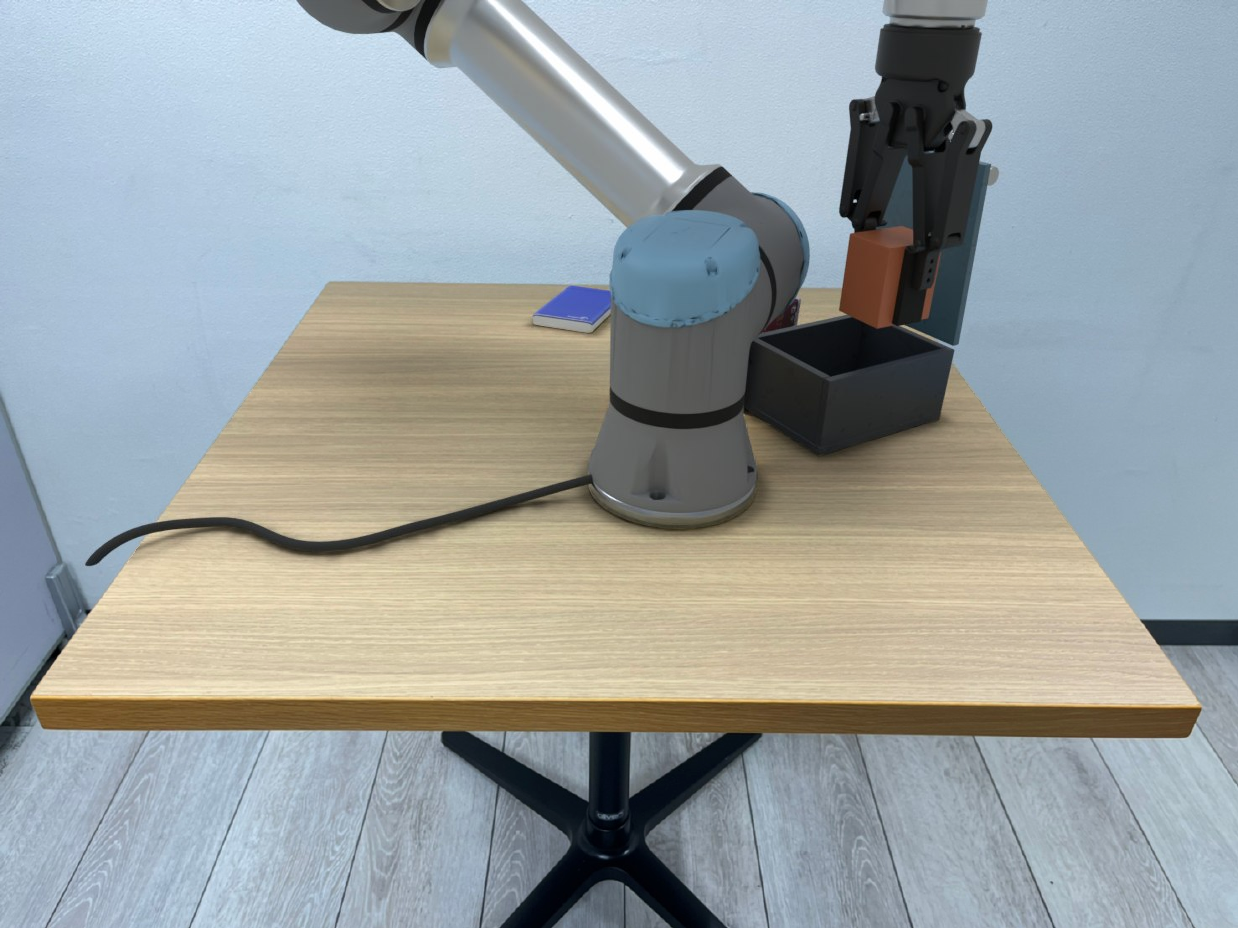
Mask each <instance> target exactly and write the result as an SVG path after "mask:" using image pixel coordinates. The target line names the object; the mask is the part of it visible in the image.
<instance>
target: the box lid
mask: <svg viewBox="0 0 1238 928" xmlns="http://www.w3.org/2000/svg"><path fill="white" fill-rule="evenodd" d="M933 152H934V151H929V152H924V153H926V154H929V153H933ZM999 175H1000V169H999V168H998V167H997V166H995V165H992V163H989V162H985V161H981V160H980V161H979V166H978V171H977V176H976V182H975V187H974V192H973V197H972V202H971V207H970V212H969V218H968V223H967V228H966V233H965V238H964V242H963V244H962V245H961V246H959V247H953V248H947V249H943V250H942V251H941V255H940V261H939V266H938V271H937V276H936V281H935V286H934V291H933V296H932V301H931V307H930V312H929V317H928V318H927V319H922V320H921V321H920V322H916V323H911V324H906V325H904V326H906V327H908V328H910V329H912V330H915V331H917V332H920V333H922V334H924V335H927V336H929V337H930V338H934V339H936V340H938V341H941V342H943V343H945V344H948V345H950V346H951V347H955V346H958V345H959V344H960V338H961V333H962V328H963V323H964V318H965V312H966V307H967V300H968V295H969V289H970V284H971V278H972V274H973V273H972V272H973V268H974V261H975V255H976V250H977V245H978V240H979V234H980V229H981V223H982V218H983V211H984V206H985V201H986V196H987V190H988V187H990V186H993V185H994V184H996V182H997V181H998V179H999ZM883 219H884V220H885V222H888V223H887V224H886V225H885V226H880V227H876V230H878V229H885V228H892V227H899V226H903V227H906V228H909V229H912V230H913V181H912V166H911V165H910V164H909V163H908V155H907V156H906V157H905V159H904V161H903V164H902V167H901V170H900V173H899V175H898V178H897V181H896V184H895V186H894V189H893V192H892V195H891V198H890V200H889V203H888V206H887V209H886V212H885V214H884V217H883ZM929 235H931V232H930V233H929Z"/></svg>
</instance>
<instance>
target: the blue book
mask: <svg viewBox="0 0 1238 928" xmlns="http://www.w3.org/2000/svg"><path fill="white" fill-rule="evenodd" d="M609 316H611V293H610V290H607V289H601V288H600V289H599V288H593V287H586V286H578V285H568V286H567V287H566V288H565V289H564V290H563V291H560V292H559V294H557V295H556V296H555V297H553V298H551V300H549V301H548V302H547V303H546V304H544V305H543V306H542V307H541V308H539V309H538V310H536V312H533V314H532V324H534V325H536V326H541V327H548V328H552V329H560V330H567V331H571V332H572V331H573V332H579V333H585V334H591V333H593V332H594V331H595V330H596V329H597V328H598V327H599V326H600V325H601V324H602V323H603V322H604V321H605V320H606V319H607V318H608V317H609Z"/></svg>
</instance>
